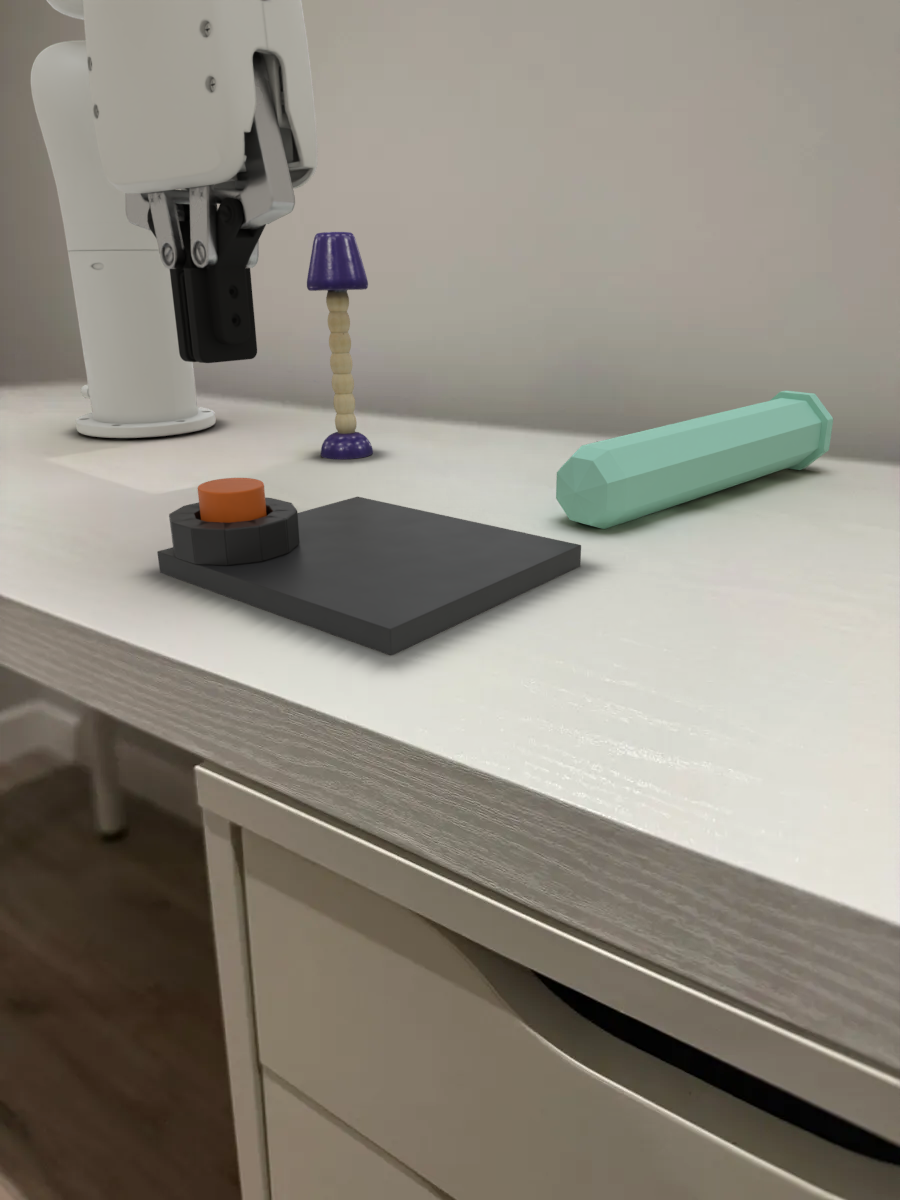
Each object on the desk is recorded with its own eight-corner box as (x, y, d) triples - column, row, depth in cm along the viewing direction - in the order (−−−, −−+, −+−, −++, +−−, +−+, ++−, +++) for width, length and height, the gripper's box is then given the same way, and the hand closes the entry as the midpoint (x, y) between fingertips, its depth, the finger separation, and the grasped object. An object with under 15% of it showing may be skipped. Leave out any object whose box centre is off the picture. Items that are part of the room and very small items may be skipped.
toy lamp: (305, 454, 72) (290, 232, 66) (349, 446, 75) (338, 233, 69) (344, 462, 69) (332, 230, 63) (387, 453, 72) (380, 231, 66)
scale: (152, 571, 45) (144, 514, 43) (352, 513, 55) (349, 465, 54) (390, 657, 35) (387, 586, 34) (580, 567, 45) (583, 510, 44)
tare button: (188, 520, 44) (183, 486, 43) (240, 507, 46) (237, 474, 45) (227, 531, 42) (224, 496, 41) (279, 517, 44) (277, 483, 44)
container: (600, 428, 47) (823, 378, 63) (525, 454, 52) (750, 402, 67) (628, 534, 48) (843, 458, 63) (552, 551, 52) (769, 477, 68)
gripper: (374, -148, 33) (392, 361, 39) (148, -53, 42) (193, 348, 48) (205, -229, 27) (257, 377, 34) (-12, -100, 36) (61, 359, 43)
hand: (219, 359), depth 41 cm, fingers closed
